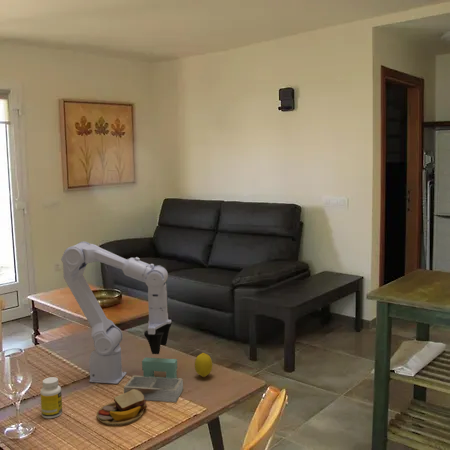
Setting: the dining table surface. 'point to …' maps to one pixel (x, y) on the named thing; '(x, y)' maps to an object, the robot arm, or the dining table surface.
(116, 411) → the toy sandwich meal
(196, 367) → the lemon
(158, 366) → the clip
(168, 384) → the cabinet frame
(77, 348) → the dining table surface
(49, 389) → the supplement bottle
